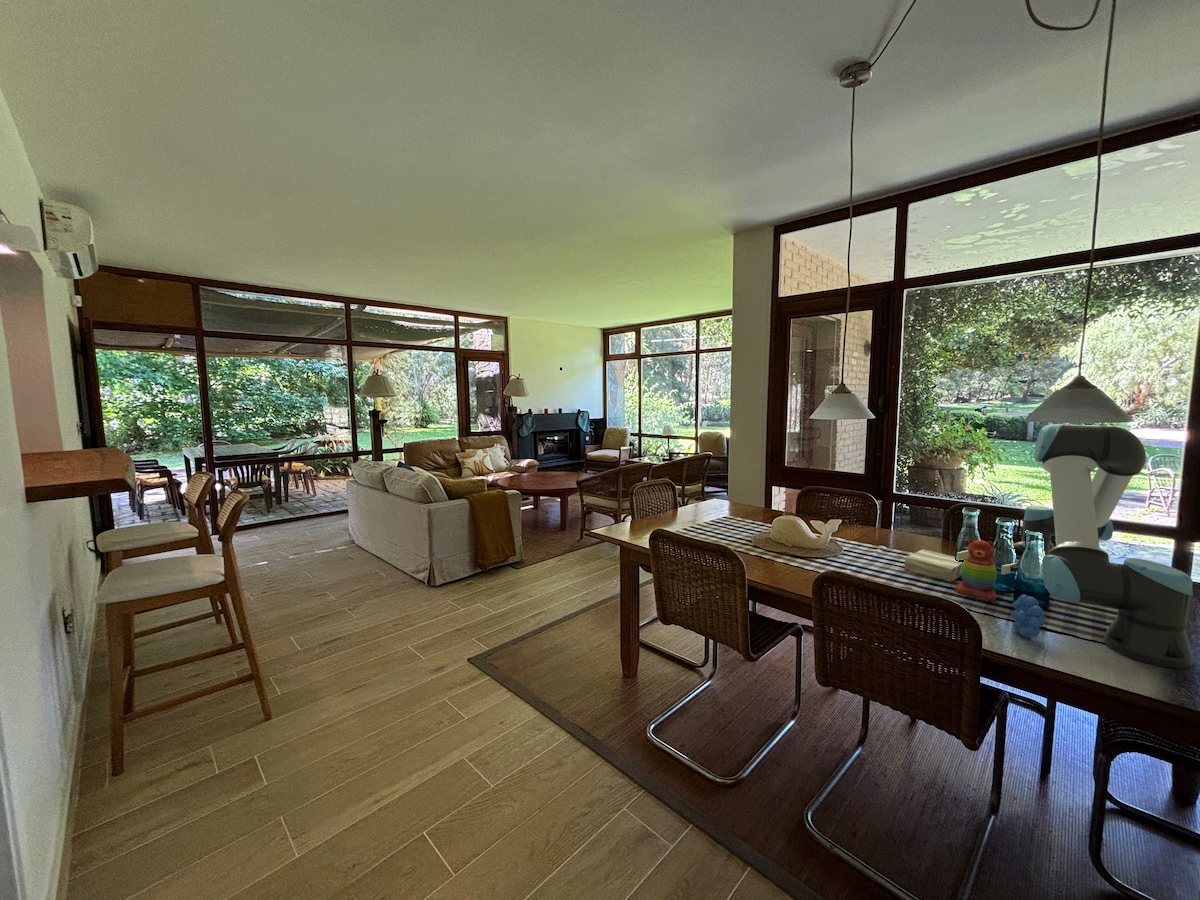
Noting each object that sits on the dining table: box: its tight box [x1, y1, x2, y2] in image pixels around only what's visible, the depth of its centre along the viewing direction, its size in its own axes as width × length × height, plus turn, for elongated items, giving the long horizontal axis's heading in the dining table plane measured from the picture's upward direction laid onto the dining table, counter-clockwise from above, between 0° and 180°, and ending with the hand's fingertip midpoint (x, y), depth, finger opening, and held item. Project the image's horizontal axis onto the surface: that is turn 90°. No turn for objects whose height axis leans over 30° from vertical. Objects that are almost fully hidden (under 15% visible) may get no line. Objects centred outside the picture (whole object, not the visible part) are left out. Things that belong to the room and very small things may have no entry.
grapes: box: [1010, 594, 1047, 638], centre depth 133 cm, size 12×7×12 cm, turn 165°
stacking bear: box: [954, 538, 998, 601], centre depth 161 cm, size 11×10×18 cm
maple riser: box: [904, 548, 963, 582], centre depth 181 cm, size 15×15×5 cm
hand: (979, 563), depth 162 cm, fingers open, 13 cm apart
